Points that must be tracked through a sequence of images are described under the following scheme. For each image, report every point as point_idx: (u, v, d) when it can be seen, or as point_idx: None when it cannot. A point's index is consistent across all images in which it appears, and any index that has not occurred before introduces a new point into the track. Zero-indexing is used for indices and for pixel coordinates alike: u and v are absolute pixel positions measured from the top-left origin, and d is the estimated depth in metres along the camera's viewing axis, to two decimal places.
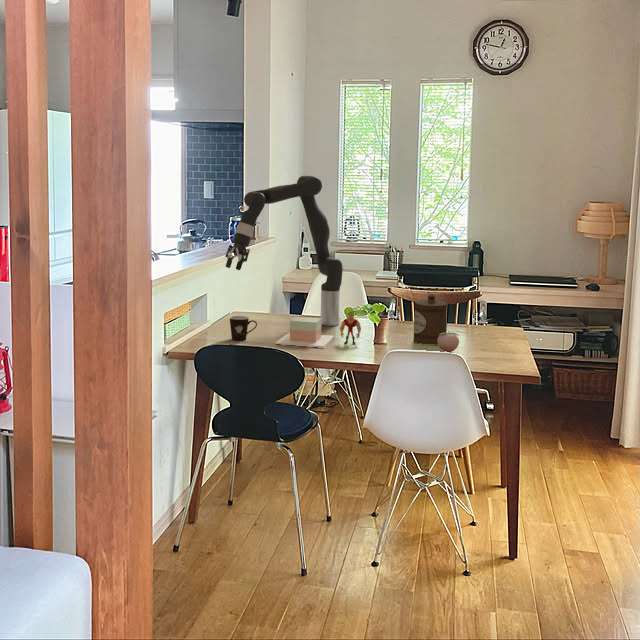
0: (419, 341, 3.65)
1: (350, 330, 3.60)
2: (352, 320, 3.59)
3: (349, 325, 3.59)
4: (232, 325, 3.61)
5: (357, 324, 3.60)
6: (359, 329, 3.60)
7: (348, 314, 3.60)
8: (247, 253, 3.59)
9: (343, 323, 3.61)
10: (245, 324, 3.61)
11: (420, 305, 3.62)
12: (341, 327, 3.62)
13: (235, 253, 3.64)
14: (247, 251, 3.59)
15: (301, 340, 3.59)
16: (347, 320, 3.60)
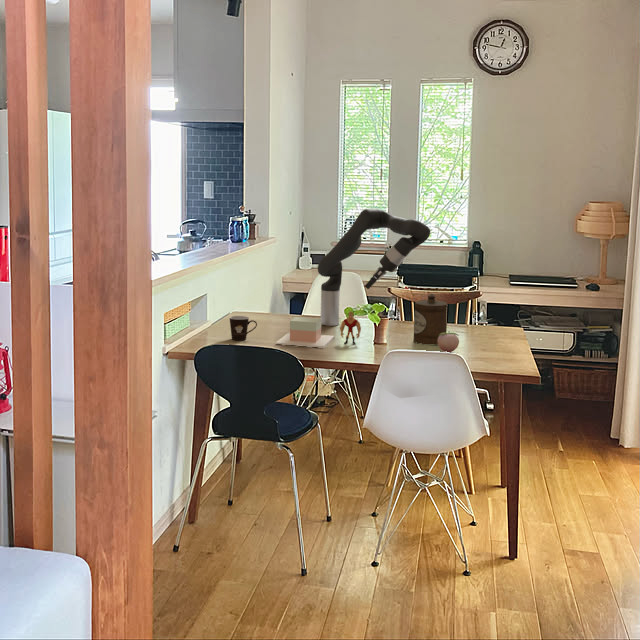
0: (419, 341, 3.65)
1: (350, 330, 3.60)
2: (352, 320, 3.59)
3: (349, 325, 3.59)
4: (232, 325, 3.61)
5: (357, 324, 3.60)
6: (359, 329, 3.60)
7: (348, 314, 3.60)
8: None
9: (343, 323, 3.61)
10: (245, 324, 3.61)
11: (420, 305, 3.62)
12: (341, 327, 3.62)
13: None
14: None
15: (301, 340, 3.59)
16: (347, 320, 3.60)
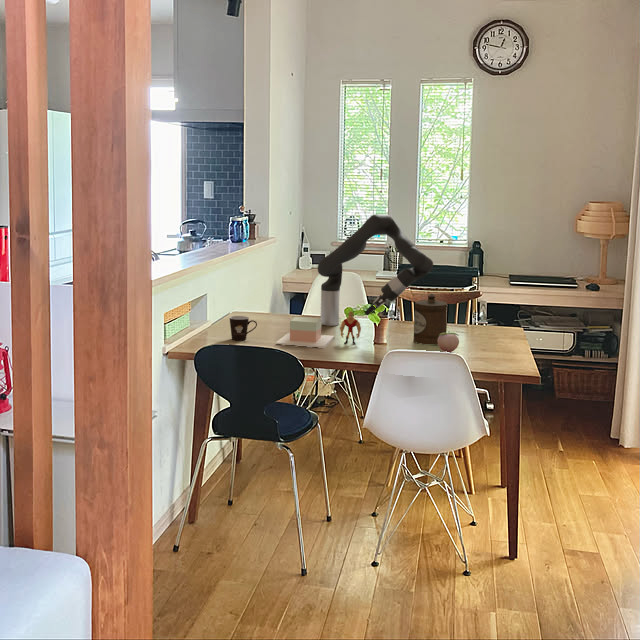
0: (419, 341, 3.65)
1: (350, 330, 3.60)
2: (352, 320, 3.59)
3: (349, 325, 3.59)
4: (232, 325, 3.61)
5: (357, 324, 3.60)
6: (359, 329, 3.60)
7: (348, 314, 3.60)
8: None
9: (343, 323, 3.61)
10: (245, 324, 3.61)
11: (420, 305, 3.62)
12: (341, 327, 3.62)
13: None
14: None
15: (301, 340, 3.59)
16: (347, 320, 3.60)
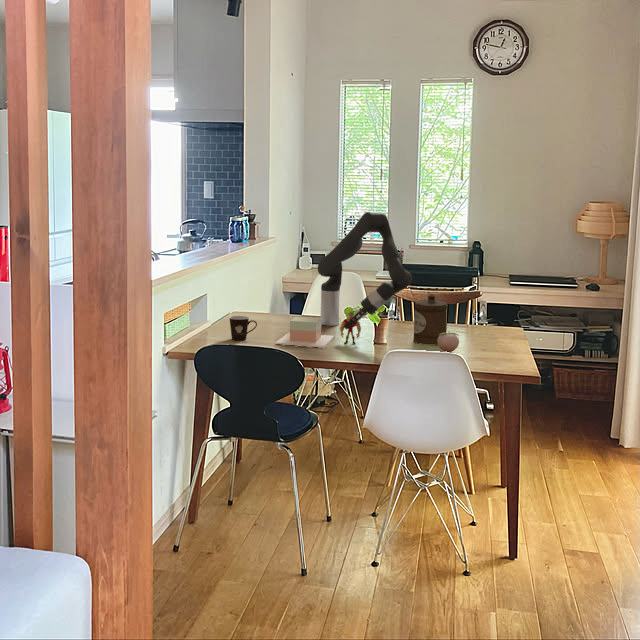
0: (419, 341, 3.65)
1: (350, 330, 3.60)
2: None
3: None
4: (232, 325, 3.61)
5: (357, 324, 3.60)
6: (359, 329, 3.60)
7: (348, 314, 3.60)
8: None
9: (343, 323, 3.61)
10: (245, 324, 3.61)
11: (420, 305, 3.62)
12: (341, 327, 3.62)
13: None
14: None
15: (301, 340, 3.59)
16: (347, 320, 3.60)
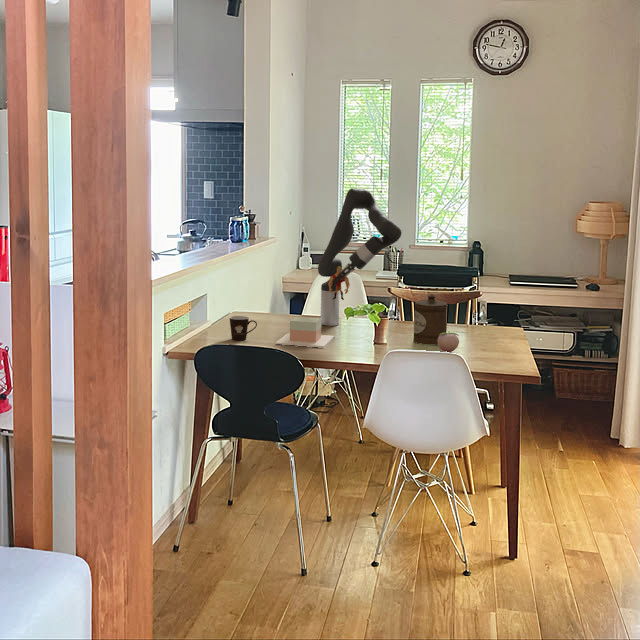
0: (419, 341, 3.65)
1: (338, 285, 3.57)
2: None
3: None
4: (232, 325, 3.61)
5: (345, 279, 3.57)
6: (347, 284, 3.58)
7: None
8: None
9: (331, 278, 3.58)
10: (245, 324, 3.61)
11: (420, 305, 3.62)
12: (329, 283, 3.59)
13: None
14: None
15: (301, 340, 3.59)
16: (335, 275, 3.57)
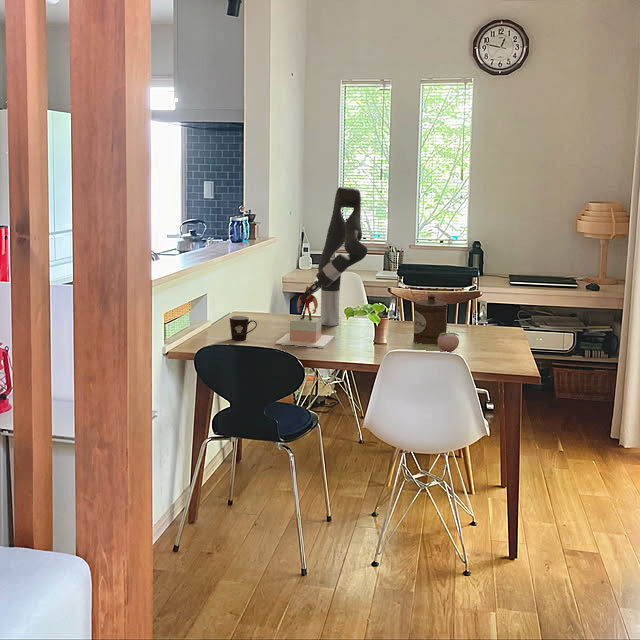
0: (419, 341, 3.65)
1: (307, 305, 3.61)
2: None
3: (306, 300, 3.60)
4: (232, 325, 3.61)
5: (314, 300, 3.61)
6: (316, 305, 3.61)
7: None
8: None
9: None
10: (245, 324, 3.61)
11: (420, 305, 3.62)
12: (298, 302, 3.62)
13: None
14: None
15: (301, 340, 3.59)
16: None
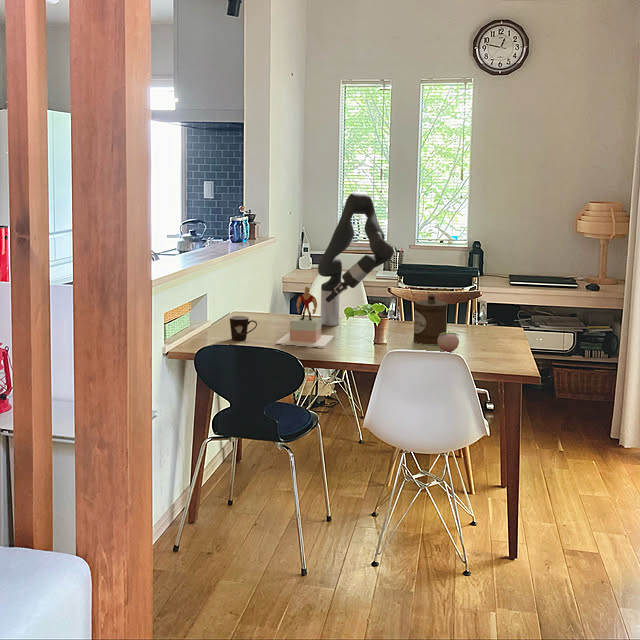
0: (419, 341, 3.65)
1: (306, 306, 3.60)
2: (308, 296, 3.60)
3: (305, 301, 3.60)
4: (232, 325, 3.61)
5: (313, 300, 3.60)
6: (315, 305, 3.61)
7: None
8: None
9: (299, 299, 3.61)
10: (245, 324, 3.61)
11: (420, 305, 3.62)
12: (297, 303, 3.62)
13: None
14: None
15: (301, 340, 3.59)
16: (303, 296, 3.60)
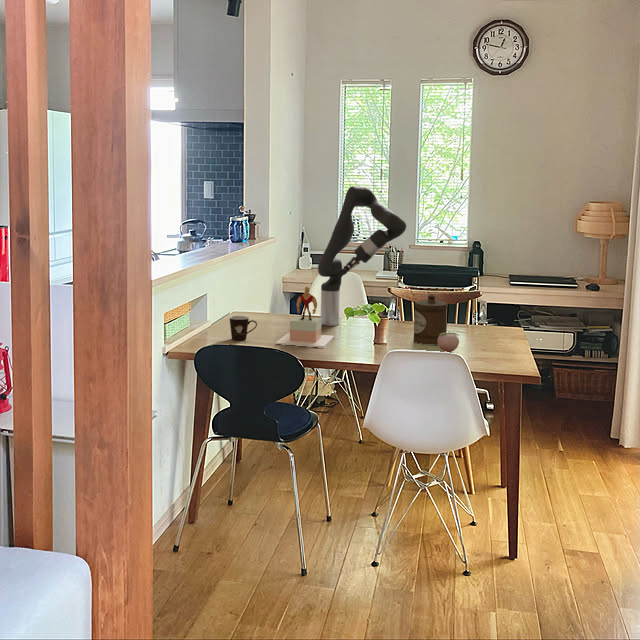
0: (419, 341, 3.65)
1: (306, 306, 3.60)
2: (308, 296, 3.60)
3: (305, 301, 3.60)
4: (232, 325, 3.61)
5: (313, 300, 3.60)
6: (315, 305, 3.61)
7: None
8: None
9: (299, 299, 3.61)
10: (245, 324, 3.61)
11: (420, 305, 3.62)
12: (297, 303, 3.62)
13: None
14: None
15: (301, 340, 3.59)
16: (303, 296, 3.60)
